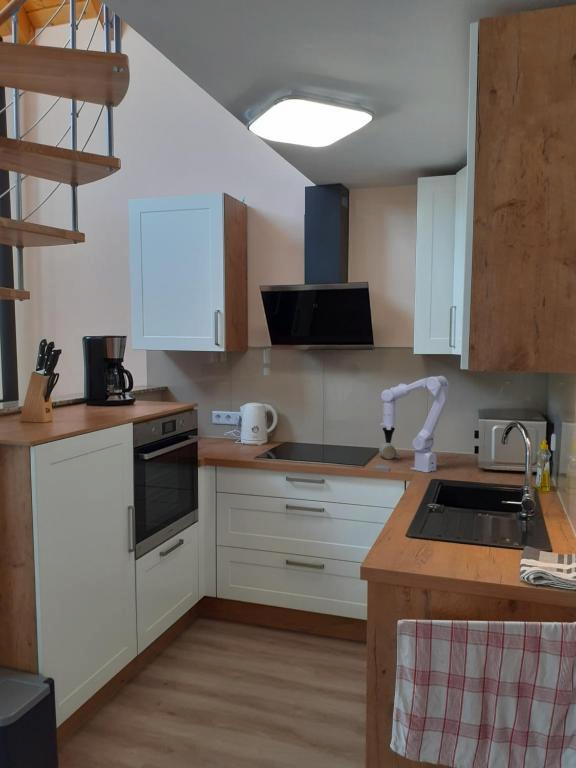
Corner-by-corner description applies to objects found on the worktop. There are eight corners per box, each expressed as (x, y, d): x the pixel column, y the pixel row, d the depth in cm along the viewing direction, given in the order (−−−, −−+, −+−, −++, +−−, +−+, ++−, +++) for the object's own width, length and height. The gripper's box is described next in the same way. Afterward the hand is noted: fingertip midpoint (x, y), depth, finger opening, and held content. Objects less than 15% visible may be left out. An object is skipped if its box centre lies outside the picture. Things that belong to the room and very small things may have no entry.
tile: (375, 465, 280) (375, 467, 274) (389, 465, 279) (388, 468, 273) (375, 469, 280) (375, 471, 274) (388, 469, 279) (388, 472, 273)
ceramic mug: (382, 460, 300) (382, 444, 299) (378, 456, 308) (379, 441, 307) (403, 460, 301) (403, 445, 300) (398, 457, 309) (399, 442, 308)
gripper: (380, 412, 296) (380, 439, 297) (380, 416, 281) (379, 444, 282) (395, 412, 295) (394, 440, 296) (395, 416, 280) (394, 445, 281)
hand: (388, 442), depth 289 cm, fingers closed
